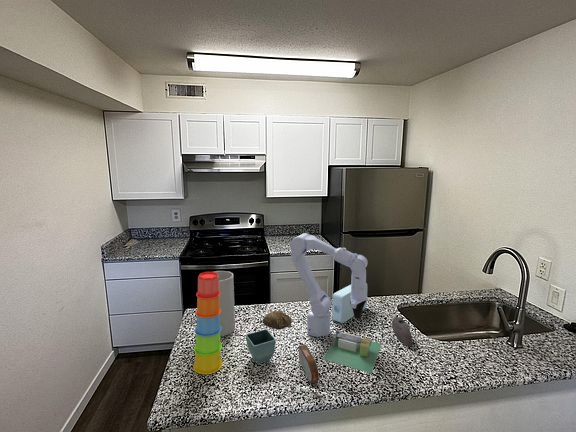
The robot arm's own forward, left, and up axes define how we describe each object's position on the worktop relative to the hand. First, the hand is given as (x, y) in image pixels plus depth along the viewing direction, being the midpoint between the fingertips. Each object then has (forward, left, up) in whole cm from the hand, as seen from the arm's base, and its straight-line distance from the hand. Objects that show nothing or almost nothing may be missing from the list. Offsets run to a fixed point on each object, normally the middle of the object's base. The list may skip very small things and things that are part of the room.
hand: (357, 317), depth 125 cm
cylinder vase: (-56, -18, -11) cm, 60 cm away
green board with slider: (+1, -9, -10) cm, 13 cm away
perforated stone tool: (+17, +9, -11) cm, 22 cm away
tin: (-10, -28, -11) cm, 31 cm away
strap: (-1, -6, -7) cm, 9 cm away
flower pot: (-29, -28, -11) cm, 42 cm away
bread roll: (-37, 0, -11) cm, 39 cm away
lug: (+5, -8, -9) cm, 13 cm away
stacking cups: (-44, -40, -11) cm, 60 cm away
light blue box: (-9, +22, -11) cm, 26 cm away
